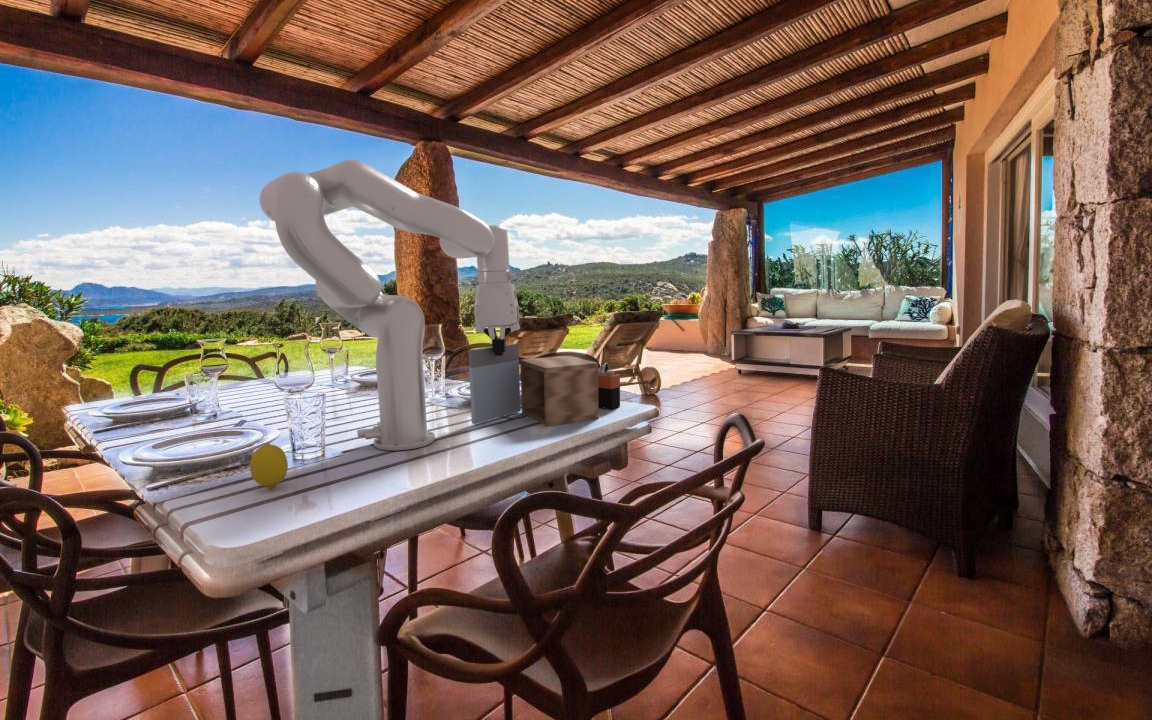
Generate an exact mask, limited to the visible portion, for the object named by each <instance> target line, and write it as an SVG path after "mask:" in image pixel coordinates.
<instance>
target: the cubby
mask: <svg viewBox="0 0 1152 720" xmlns="http://www.w3.org/2000/svg"><path fill="white" fill-rule="evenodd" d="M519 369H520V399H521V413H522V414H523V415H526V416H528V417H530V418H531V419H533V420H535V421H536V422H538V423H540V424H542V425H544V426H546V427H552V426H553V427H554V426H559V425H565V424H572V423H579V422H578V421H580V422H586V421H585V420H587V421H592V419H593V420H598V419H599V411H600V410H599V409H600V408H599V407H598V370H599V363H598V362H596V361H591V360H587V359H584V358H580V357H575V356H572V355H561V356H560V355H558V356H548V357H547V356H546V357H537V358H525V359H519Z"/></svg>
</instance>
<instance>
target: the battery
mask: <svg viewBox="0 0 1152 720" xmlns="http://www.w3.org/2000/svg"><path fill="white" fill-rule="evenodd" d="M620 406H621V374H620V373H615V370H606V371H604V370H603V369H598V407H599V409H605V410H614V409H618V408H620Z"/></svg>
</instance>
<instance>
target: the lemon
mask: <svg viewBox="0 0 1152 720" xmlns="http://www.w3.org/2000/svg"><path fill="white" fill-rule="evenodd" d="M249 464H250V466H249V468H250V469H249V471H250V474H251V477H252V478H253V480H254V481H255V482H256V484H258V485H260V486H264V487H266V488H268V489H270V490H271V489H274V488H275V487H276V486H277V485H278V484H279V483H281V482H282V481H283V480H284V479H285V477H286V476H287V473H288V467H289V465H288V464H289V463H288V458H287V455H286V453H285V452H284V450H283V449H282V448H281V447H279V446H278V445H275V444H271V443H270V442H266V443H264V444H263V445H261V446H260V447H258V448H257V449H256V450H255V451H254V452H253V453H252V456H251V458H250V462H249Z"/></svg>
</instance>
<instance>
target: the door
mask: <svg viewBox="0 0 1152 720" xmlns="http://www.w3.org/2000/svg"><path fill="white" fill-rule="evenodd" d="M505 345H506V352H504V354H503V355H502V356H499V355H498V356H495V352H493V350H492V346H488V347H482V348H481V347H480V348H475V349H468V368H469V371H468V373H469V390H470V391H469V392H470V393H469V395H470V412H471V424H473V425H477V424H480V423H484V422H487V421H491V420H495V419H499V418H501V417H504V416H505V417H506V416H508V415H511V414H515V413H519V412H522V408H521V378H520V355H519V354H520V353H519V351H520V350H519V343H509V344H505Z"/></svg>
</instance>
